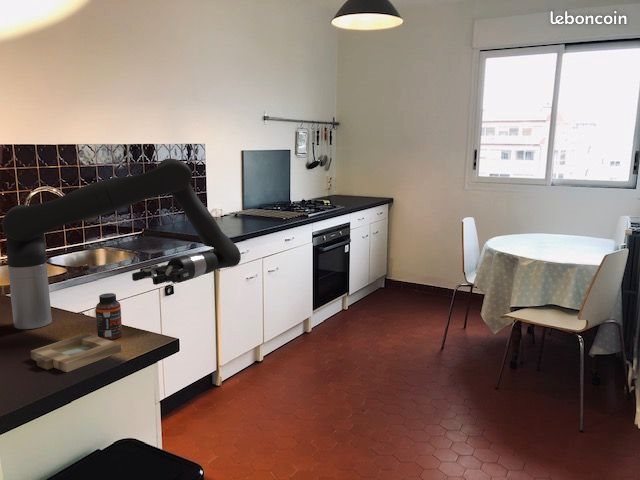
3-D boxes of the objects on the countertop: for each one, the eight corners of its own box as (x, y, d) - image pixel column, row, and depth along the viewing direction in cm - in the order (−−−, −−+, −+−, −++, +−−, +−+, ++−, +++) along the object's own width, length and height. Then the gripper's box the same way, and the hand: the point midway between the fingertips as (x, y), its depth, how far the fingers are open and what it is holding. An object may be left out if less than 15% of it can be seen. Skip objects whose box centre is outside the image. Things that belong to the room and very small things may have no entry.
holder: (24, 361, 120) (24, 352, 120) (85, 340, 133) (85, 333, 133) (60, 374, 113) (59, 366, 113) (121, 351, 126) (120, 343, 125)
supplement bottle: (113, 341, 132) (110, 298, 130) (92, 340, 133) (89, 297, 132) (127, 333, 138) (124, 292, 136) (106, 332, 139) (103, 291, 137)
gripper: (169, 252, 159) (125, 263, 146) (203, 257, 152) (159, 268, 138) (171, 276, 161) (127, 289, 147) (205, 282, 153) (162, 296, 140)
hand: (143, 279), depth 143 cm, fingers open, 8 cm apart
